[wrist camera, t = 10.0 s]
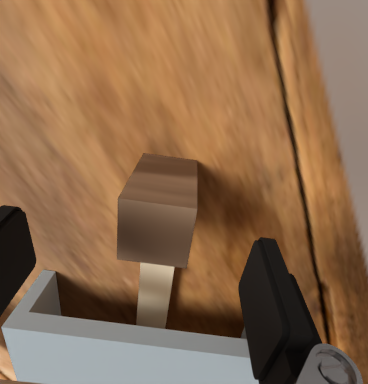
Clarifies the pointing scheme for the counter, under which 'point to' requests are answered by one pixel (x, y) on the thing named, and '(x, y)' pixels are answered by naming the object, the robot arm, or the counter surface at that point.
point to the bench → (113, 348)
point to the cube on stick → (157, 228)
